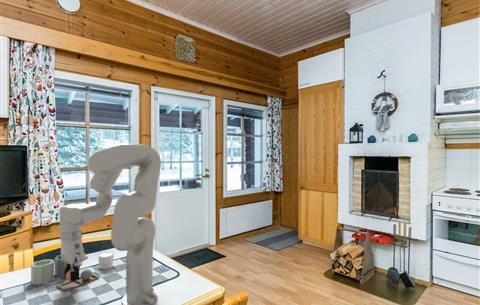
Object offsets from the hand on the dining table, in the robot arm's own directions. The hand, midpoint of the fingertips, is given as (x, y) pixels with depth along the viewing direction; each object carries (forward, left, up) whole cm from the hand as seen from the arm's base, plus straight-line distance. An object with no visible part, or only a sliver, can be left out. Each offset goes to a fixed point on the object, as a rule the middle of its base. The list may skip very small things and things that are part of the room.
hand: (72, 278), depth 115 cm
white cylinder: (+7, -19, -4) cm, 21 cm away
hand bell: (+31, -18, -4) cm, 36 cm away
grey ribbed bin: (+16, -4, -4) cm, 17 cm away
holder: (+1, -3, -4) cm, 5 cm away
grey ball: (+1, -6, -3) cm, 7 cm away
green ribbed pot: (+16, +5, -4) cm, 17 cm away
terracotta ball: (0, 0, -1) cm, 1 cm away
